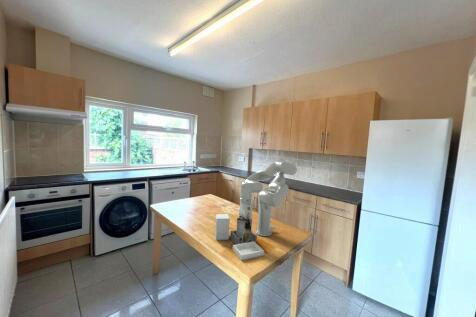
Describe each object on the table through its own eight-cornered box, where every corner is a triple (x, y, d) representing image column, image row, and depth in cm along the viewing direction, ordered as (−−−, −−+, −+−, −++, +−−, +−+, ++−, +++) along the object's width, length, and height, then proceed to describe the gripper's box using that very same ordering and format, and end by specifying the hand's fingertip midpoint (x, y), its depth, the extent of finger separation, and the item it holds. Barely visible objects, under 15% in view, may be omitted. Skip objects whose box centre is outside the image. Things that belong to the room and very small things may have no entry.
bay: (247, 235, 142) (248, 228, 141) (256, 243, 131) (256, 235, 130) (230, 238, 136) (230, 231, 135) (237, 246, 125) (237, 239, 124)
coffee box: (243, 237, 138) (245, 214, 137) (251, 240, 134) (252, 217, 133) (235, 241, 131) (236, 218, 130) (242, 245, 127) (244, 220, 126)
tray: (253, 245, 127) (254, 241, 127) (263, 255, 116) (264, 250, 116) (232, 249, 121) (232, 245, 120) (241, 260, 110) (241, 255, 110)
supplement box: (227, 233, 142) (228, 213, 141) (228, 239, 133) (230, 218, 132) (214, 234, 140) (215, 213, 139) (215, 240, 131) (216, 218, 130)
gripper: (257, 203, 125) (255, 230, 126) (244, 196, 140) (243, 220, 141) (246, 204, 121) (245, 231, 123) (235, 197, 137) (233, 221, 138)
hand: (244, 225), depth 132 cm, fingers closed on coffee box, 8 cm apart
